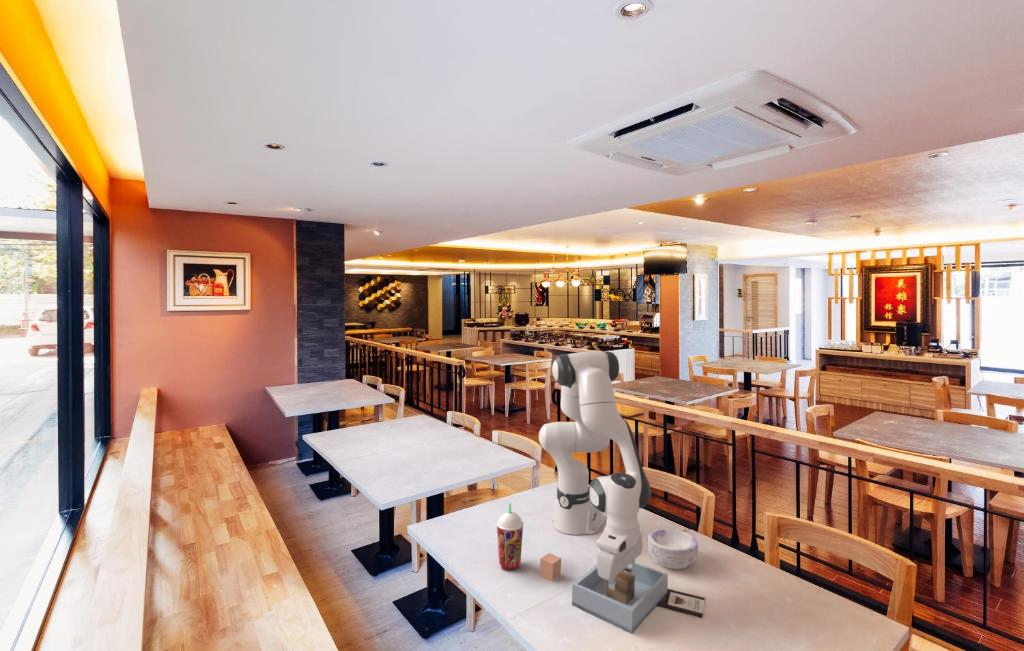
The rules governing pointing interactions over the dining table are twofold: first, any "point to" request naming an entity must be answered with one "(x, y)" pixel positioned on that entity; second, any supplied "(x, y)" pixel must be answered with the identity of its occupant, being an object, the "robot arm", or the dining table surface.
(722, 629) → the dining table surface
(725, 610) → the dining table surface
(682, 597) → the chocolate bar
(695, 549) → the paper bowls
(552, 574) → the terracotta box
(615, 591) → the walnut block
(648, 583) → the tote
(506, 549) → the smoothie
